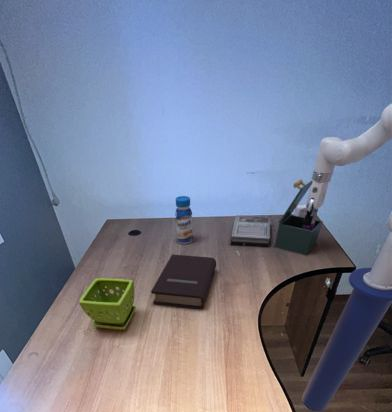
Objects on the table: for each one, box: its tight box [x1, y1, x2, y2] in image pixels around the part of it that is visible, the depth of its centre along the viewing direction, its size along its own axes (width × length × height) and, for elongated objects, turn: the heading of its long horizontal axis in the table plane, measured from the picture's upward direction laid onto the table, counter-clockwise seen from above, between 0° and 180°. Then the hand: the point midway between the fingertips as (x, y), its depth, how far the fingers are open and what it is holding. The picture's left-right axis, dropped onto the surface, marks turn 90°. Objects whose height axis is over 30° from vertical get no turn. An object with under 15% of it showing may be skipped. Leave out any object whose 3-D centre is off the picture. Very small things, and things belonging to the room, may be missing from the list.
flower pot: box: [78, 277, 137, 331], centre depth 89 cm, size 14×14×13 cm
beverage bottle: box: [174, 195, 194, 245], centre depth 129 cm, size 8×8×20 cm
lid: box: [278, 179, 313, 224], centre depth 118 cm, size 16×14×5 cm
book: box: [150, 254, 217, 310], centre depth 105 cm, size 28×20×6 cm
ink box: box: [293, 204, 307, 218], centre depth 138 cm, size 8×5×12 cm, turn 105°
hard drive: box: [230, 214, 271, 248], centre depth 138 cm, size 18×27×4 cm
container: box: [302, 209, 319, 231], centre depth 122 cm, size 5×5×15 cm
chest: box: [274, 214, 323, 256], centre depth 126 cm, size 16×14×11 cm
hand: (309, 222), depth 120 cm, fingers closed on container, 4 cm apart
